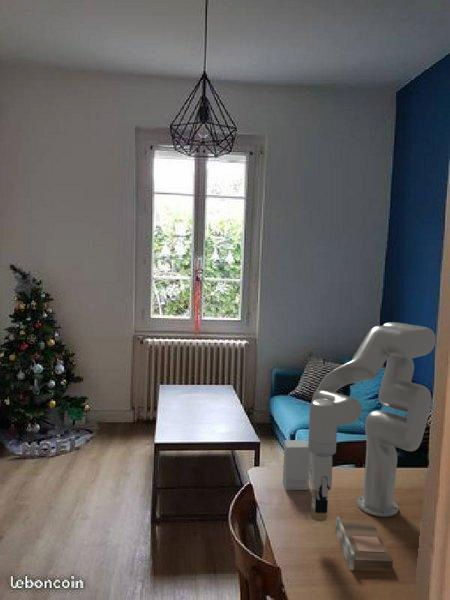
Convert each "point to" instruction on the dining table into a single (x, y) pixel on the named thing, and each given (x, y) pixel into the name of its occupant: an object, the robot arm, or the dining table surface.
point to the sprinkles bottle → (314, 515)
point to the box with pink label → (363, 546)
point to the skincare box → (296, 465)
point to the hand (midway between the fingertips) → (319, 506)
